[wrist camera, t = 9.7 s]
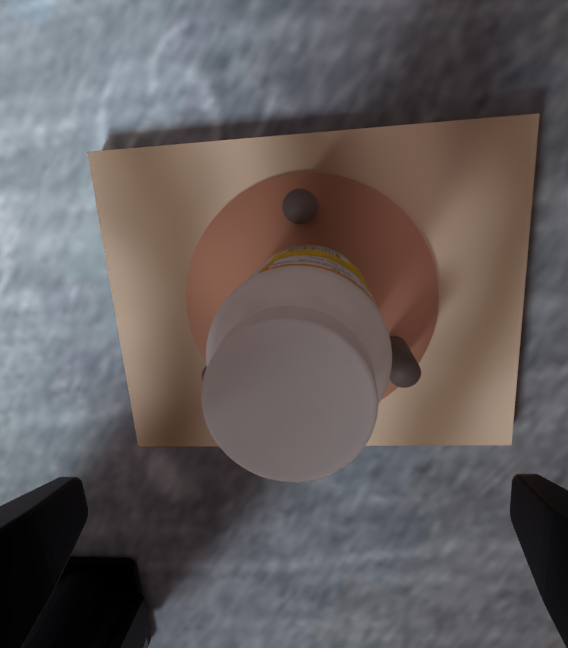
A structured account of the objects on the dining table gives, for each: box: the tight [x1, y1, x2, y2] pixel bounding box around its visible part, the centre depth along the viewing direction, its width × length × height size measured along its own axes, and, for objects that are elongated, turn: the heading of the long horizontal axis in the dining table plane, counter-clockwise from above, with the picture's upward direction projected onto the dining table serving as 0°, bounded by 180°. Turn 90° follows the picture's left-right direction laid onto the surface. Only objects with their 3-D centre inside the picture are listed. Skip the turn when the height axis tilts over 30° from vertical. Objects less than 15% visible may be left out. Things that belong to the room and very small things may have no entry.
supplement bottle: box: [201, 245, 392, 482], centre depth 14 cm, size 5×5×10 cm
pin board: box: [87, 113, 540, 447], centre depth 18 cm, size 18×14×4 cm
